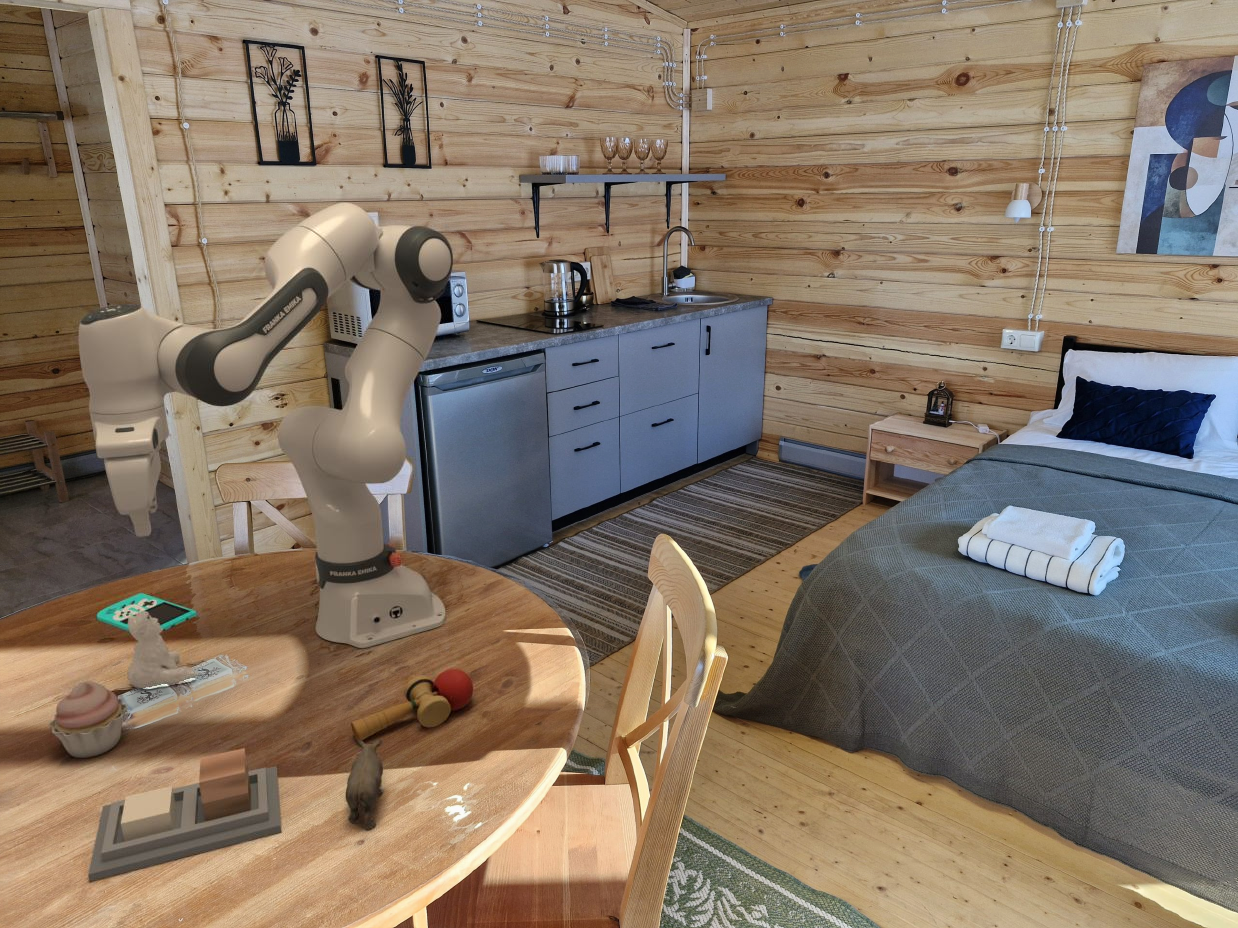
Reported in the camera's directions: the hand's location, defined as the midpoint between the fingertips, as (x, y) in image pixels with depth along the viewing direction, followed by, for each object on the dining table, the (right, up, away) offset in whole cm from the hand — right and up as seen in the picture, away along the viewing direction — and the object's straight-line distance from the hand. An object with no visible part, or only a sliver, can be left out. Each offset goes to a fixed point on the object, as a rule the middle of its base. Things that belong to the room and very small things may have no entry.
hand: (147, 522), depth 119 cm
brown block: (+18, -34, -14) cm, 41 cm away
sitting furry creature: (-6, -26, +15) cm, 31 cm away
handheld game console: (-20, -20, +35) cm, 45 cm away
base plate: (+14, -36, -15) cm, 41 cm away
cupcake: (-7, -31, -1) cm, 32 cm away
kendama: (+36, -30, +5) cm, 47 cm away
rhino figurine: (+34, -34, -10) cm, 49 cm away
